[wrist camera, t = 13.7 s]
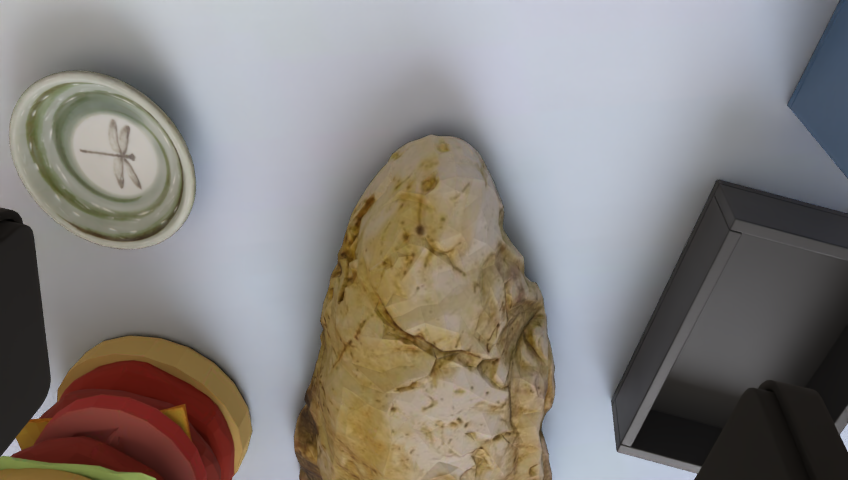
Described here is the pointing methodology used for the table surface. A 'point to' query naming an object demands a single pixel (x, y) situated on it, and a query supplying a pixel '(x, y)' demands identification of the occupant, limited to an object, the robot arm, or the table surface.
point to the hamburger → (137, 419)
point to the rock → (429, 334)
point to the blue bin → (827, 90)
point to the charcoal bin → (738, 324)
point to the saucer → (102, 159)
